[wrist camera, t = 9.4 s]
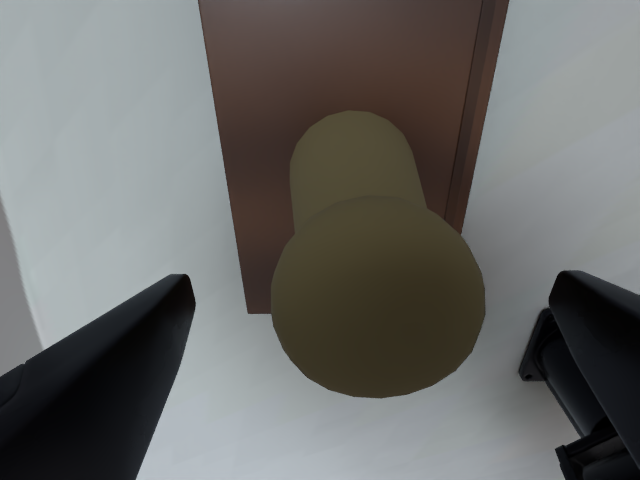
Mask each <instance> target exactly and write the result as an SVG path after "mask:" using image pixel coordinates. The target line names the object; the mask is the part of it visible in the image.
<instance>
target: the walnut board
mask: <svg viewBox="0 0 640 480" xmlns="http://www.w3.org/2000/svg"><path fill="white" fill-rule="evenodd" d="M198 4H199V10H200V16H201V22H202V29H203V35H204V41H205V48H206V54H207V60H208V67H209V73H210V79H211V85H212V92H213V98H214V104H215V111H216V117H217V123H218V129H219V136H220V142H221V148H222V155H223V161H224V167H225V174H226V180H227V186H228V192H229V199H230V205H231V211H232V218H233V224H234V230H235V236H236V243H237V249H238V255H239V262H240V268H241V274H242V281H243V287H244V293H245V299H246V306H247V312H248V314H271V283H272V279H273V275H274V271H275V269H276V266H277V264H278V261H279V259H280V257H281V254H282V252H283V249H284V247H285V245H286V244H287V243H288V242H289V240H290V239H291V238H292V237H293V236H294V234H295V229H294V219H293V210H292V200H291V190H290V161H291V158H292V155H293V152H294V150H295V147H296V144H297V143H298V141H299V140H300V139H301V138H302V136H303V135H304V134H305V132H306V131H307V130H308V129H309V127H311V126H312V125H314V124H316V123H317V122H319V121H320V120H322V119H323V118H325V117H326V116H328V115H332V114H336V113H340V112H344V111H348V110H350V111H364V112H371V113H373V114H376V115H378V116H380V117H383V118H385V119H387V120H389V121H390V122H391V123H392V124H393V125H394V126H395V127H397V128H398V129H399V130H400V131H401V132H402V133H403V134H404V136H405V138H406V140H407V142H408V144H409V146H410V148H411V150H412V152H413V156H414V160H415V164H416V168H417V171H418V175H419V179H420V183H421V187H422V190H423V194H424V198H425V202H426V206H427V209H429V210H431V211H432V212H434V213H436V214H437V215H439V216H440V217H441V218H442V219H443V220H444V221H445V222H447V223H448V224H449V225H450V226H451V227H452V228H453V229H455V230H456V231H457V232H458V233H459V234H460V235H461V232H462V227H463V222H464V218H465V213H466V208H467V203H468V198H469V193H470V188H471V184H472V179H473V174H474V169H475V164H476V159H477V154H478V150H479V145H480V140H481V135H482V130H483V125H484V120H485V116H486V111H487V106H488V101H489V96H490V91H491V87H492V82H493V77H494V72H495V67H496V62H497V57H498V53H499V48H500V43H501V38H502V33H503V28H504V23H505V19H506V14H507V9H508V4H509V0H198Z"/></svg>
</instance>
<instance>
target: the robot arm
mask: <svg viewBox="0 0 640 480" xmlns="http://www.w3.org/2000/svg"><path fill="white" fill-rule="evenodd" d="M195 307H196V302H195V297H194V293H193V289H192V285H191V281H190V278H189V276H188V275H186V274H170V275H168V276H167V277H165V278H163V279H162V280H160V281H158V282H157V283H155V284H153V285H152V286H150V287H148V288H147V289H145V290H143V291H142V292H140V293H138V294H137V295H135V296H133V297H132V298H130V299H128V300H127V301H125V302H123V303H122V304H120V305H118V306H117V307H115V308H113V309H112V310H110V311H109V312H107V313H105V314H104V315H102V316H100V317H99V318H97V319H95V320H94V321H92V322H90V323H89V324H87V325H85V326H84V327H82V328H80V329H79V330H77V331H75V332H74V333H72V334H70V335H69V336H67V337H65V338H64V339H62V340H60V341H59V342H57V343H55V344H54V345H52V346H50V347H49V348H47V349H46V350H44V351H42V352H41V353H39V354H37V355H36V356H34V357H32V358H31V359H29V360H27V361H26V362H25V364H21V365H19V366H17V367H16V368H14V369H12V370H11V371H9V372H7V373H6V374H4V375H2V376H1V377H0V480H136V477H137V475H138V472H139V470H140V467H141V465H142V462H143V459H144V457H145V454H146V452H147V449H148V447H149V444H150V442H151V439H152V436H153V434H154V431H155V429H156V426H157V424H158V421H159V419H160V416H161V413H162V411H163V408H164V406H165V403H166V401H167V398H168V396H169V393H170V390H171V388H172V385H173V383H174V380H175V378H176V375H177V372H178V370H179V367H180V364H181V361H182V357H183V354H184V350H185V346H186V342H187V338H188V335H189V331H190V327H191V323H192V320H193V316H194V312H195ZM549 307H550V309H547V310H545V311H543V312H542V314H541V316H540V319H539V321H538V324H537V326H536V329H535V332H534V334H533V337H532V339H531V342H530V344H529V347H528V350H527V352H526V355H525V357H524V360H523V363H522V365H521V368H520V370H519V375H520V377H521V379H522V380H523V381H545V382H546V384H547V386H548V387H549V389H550V390H551V392H552V393H553V395H554V397H555V398H556V400H557V401H558V403H559V404H560V406H561V408H562V409H563V411H564V412H565V414H566V415H567V417H568V419H569V420H570V422H571V423H572V425H573V426H574V428H575V430H576V431H577V433H578V434H579V436H580V437H581V438H580V439H578V440H576V441H574V442H572V443H570V444H568V445H566V446H565V445H562V446H560V447H558V448H556V449H555V451H556V454H557V456H558V459H559V461H560V467H561V470H562V472H563V475H564V477H565V480H640V295H638V294H635V293H633V292H630V291H628V290H626V289H623V288H621V287H619V286H616V285H614V284H611V283H609V282H607V281H604V280H602V279H600V278H597V277H595V276H592V275H590V274H588V273H585V272H583V271H579V270H568V271H561V272H560V273H559V274H558V275H557V278H556V280H555V283H554V285H553V288H552V291H551V293H550V296H549ZM550 316H551V317H550Z"/></svg>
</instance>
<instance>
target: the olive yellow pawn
mask: <svg viewBox="0 0 640 480" xmlns="http://www.w3.org/2000/svg"><path fill="white" fill-rule="evenodd" d="M290 190H291V200H292V210H293V219H294V229H295V234H294V236H293V237H292V238H291V239H290V240H289V242H288V243H287V244H286V245H285V247H284V249H283V252H282V254H281V257H280V259H279V261H278V264H277V266H276V269H275V271H274V275H273V279H272V283H271V314H272V321H273V327H274V329H275V331H276V334H277V336H278V338H279V341H280V343H281V346H282V348H283V350H284V351H285V353H286V354H287V355H288V357H289V358H290V360H291V361H292V362H293V363H294V364H295V365H296V366H297V367H298V368H299V370H300V371H301V372H302V373H303V374H304V375H305V376H306V377H307V378H309V379H310V380H312V381H314V382H316V383H318V384H319V385H321V386H323V387H325V388H326V389H328V390H331V391H335V392H338V393H342V394H345V395H349V396H353V397H366V398H387V397H393V396H400V395H407V394H410V393H413V392H416V391H419V390H421V389H424V388H427V387H430V386H432V385H434V384H436V383H437V382H439V381H440V380H442V379H443V378H445V377H447V376H448V375H450V374H451V373H453V372H454V371H456V369H457V368H458V367H459V366H460V365H461V364H462V363H463V361H464V360H465V359H466V358H467V357H468V356H469V355H470V353H471V352H472V350H473V348H474V345H475V343H476V340H477V338H478V335H479V333H480V330H481V327H482V324H483V320H484V317H485V288H484V283H483V278H482V273H481V271H480V269H479V266H478V264H477V262H476V260H475V258H474V256H473V254H472V252H471V250H470V248H469V246H468V245H467V243H466V242H465V241H464V239H463V238H462V237H461V235H460V234H459V233H458V232H457V231H456V230H455V229H453V228H452V227H451V226H450V225H449V224H448V223H447V222H445V221H444V220H443V219H442V218H441V217H440V216H439V215H437V214H436V213H434V212H432V211H431V210H429V209H427V206H426V202H425V198H424V194H423V190H422V187H421V183H420V179H419V175H418V171H417V168H416V164H415V160H414V156H413V152H412V150H411V148H410V146H409V144H408V142H407V140H406V138H405V136H404V134H403V133H402V132H401V131H400V130H399V129H398V128H397V127H395V126H394V125H393V124H392V123H391V122H390V121H389V120H387V119H385V118H383V117H380V116H378V115H376V114H373V113H371V112H364V111H350V110H348V111H344V112H340V113H336V114H332V115H328V116H326V117H325V118H323V119H322V120H320V121H319V122H317V123H316V124H314V125H312V126H311V127H309V129H308V130H307V131H306V132H305V134H304V135H303V136H302V138H301V139H300V140H299V141H298V143H297V144H296V147H295V150H294V152H293V155H292V158H291V161H290Z"/></svg>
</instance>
